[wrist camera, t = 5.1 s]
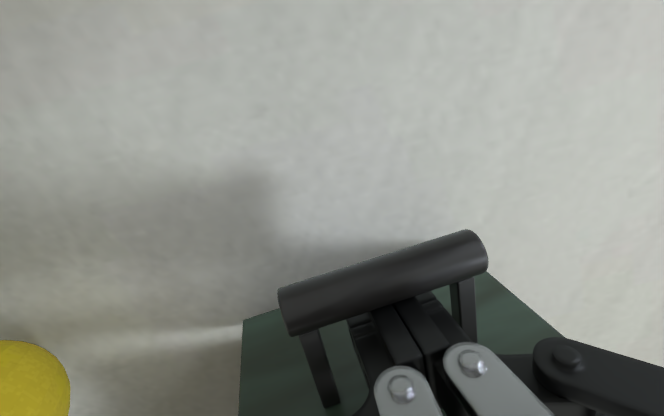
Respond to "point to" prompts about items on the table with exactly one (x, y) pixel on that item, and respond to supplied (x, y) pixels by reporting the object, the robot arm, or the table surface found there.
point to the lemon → (31, 381)
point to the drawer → (361, 297)
